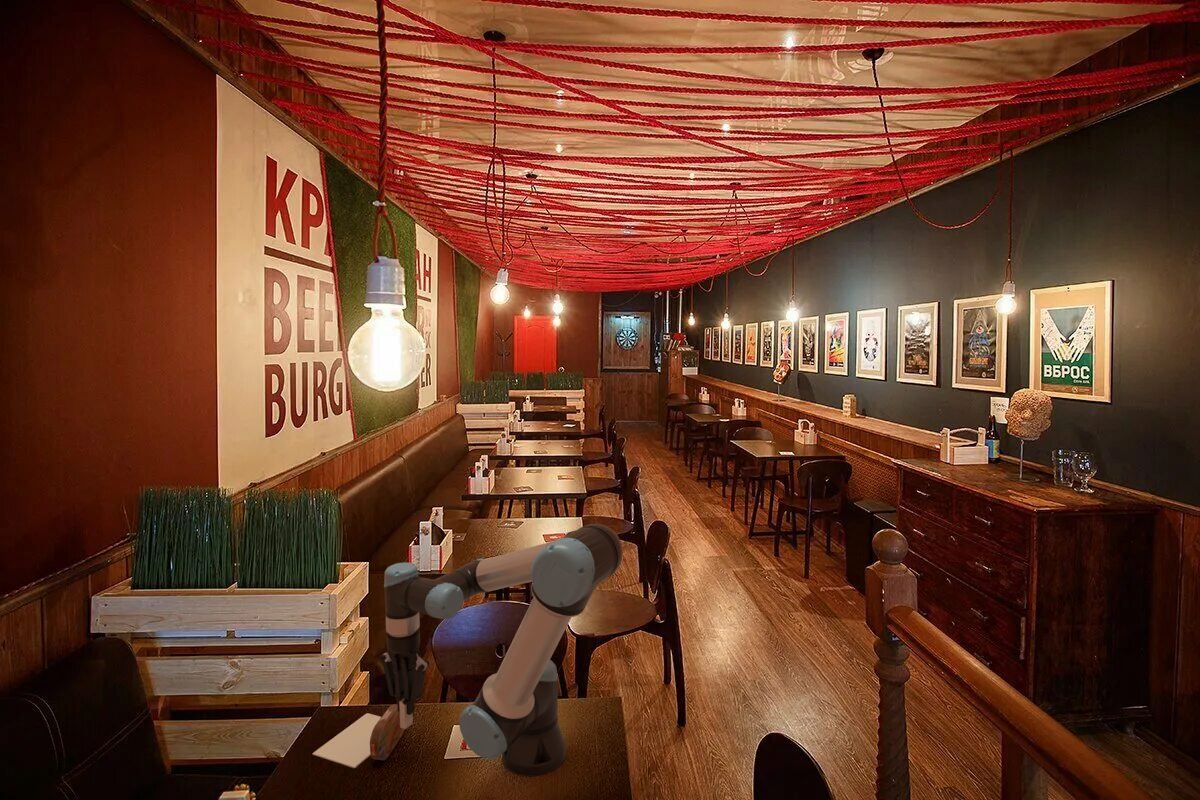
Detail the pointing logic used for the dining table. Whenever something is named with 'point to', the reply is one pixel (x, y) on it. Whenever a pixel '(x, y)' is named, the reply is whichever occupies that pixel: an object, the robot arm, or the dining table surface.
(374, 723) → the placemat
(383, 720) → the tin
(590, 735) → the dining table surface
